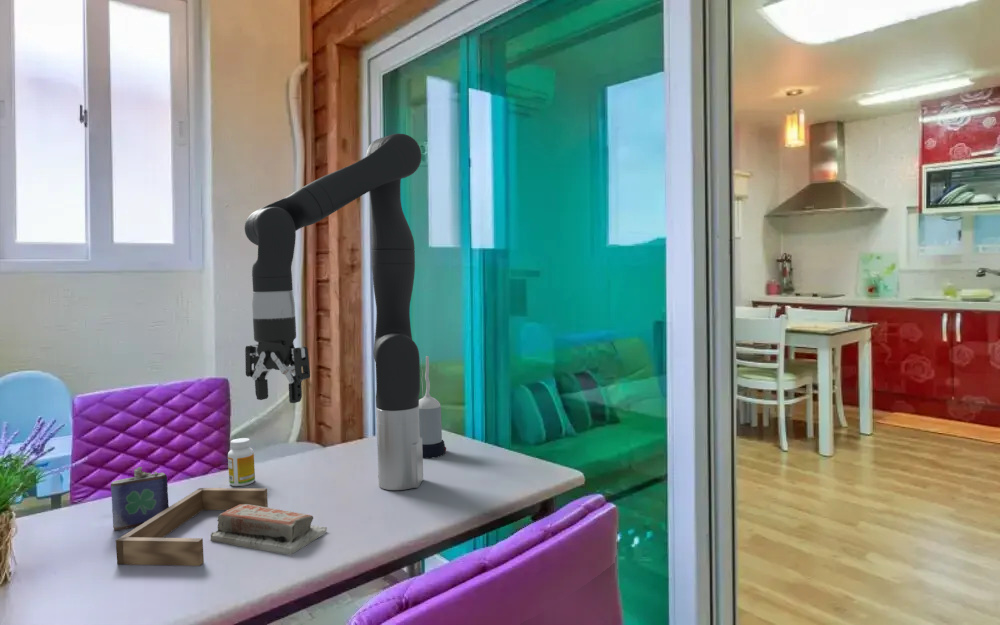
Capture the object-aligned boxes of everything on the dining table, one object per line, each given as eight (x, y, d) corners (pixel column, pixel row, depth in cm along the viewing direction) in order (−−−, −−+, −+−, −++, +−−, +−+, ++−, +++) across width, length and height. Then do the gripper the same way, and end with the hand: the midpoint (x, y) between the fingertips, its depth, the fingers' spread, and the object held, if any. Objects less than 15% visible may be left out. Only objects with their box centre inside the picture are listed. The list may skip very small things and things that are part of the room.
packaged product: (206, 516, 110) (248, 496, 119) (208, 543, 110) (249, 521, 120) (289, 529, 104) (326, 508, 113) (290, 558, 104) (328, 534, 113)
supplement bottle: (259, 478, 143) (257, 437, 143) (247, 487, 138) (245, 443, 137) (237, 478, 144) (234, 436, 143) (224, 486, 138) (222, 443, 138)
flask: (113, 532, 115) (109, 474, 114) (113, 526, 117) (110, 470, 117) (170, 521, 120) (167, 465, 119) (169, 516, 122) (166, 461, 122)
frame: (267, 508, 125) (266, 488, 125) (199, 565, 101) (198, 541, 100) (200, 507, 126) (199, 488, 126) (117, 564, 102) (115, 540, 102)
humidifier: (451, 452, 161) (449, 355, 159) (427, 460, 155) (425, 359, 153) (430, 447, 166) (427, 353, 165) (406, 454, 160) (403, 357, 158)
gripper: (317, 314, 118) (321, 399, 119) (263, 313, 124) (267, 394, 125) (286, 317, 111) (291, 407, 112) (231, 316, 118) (236, 402, 119)
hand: (278, 400), depth 119 cm, fingers open, 8 cm apart
